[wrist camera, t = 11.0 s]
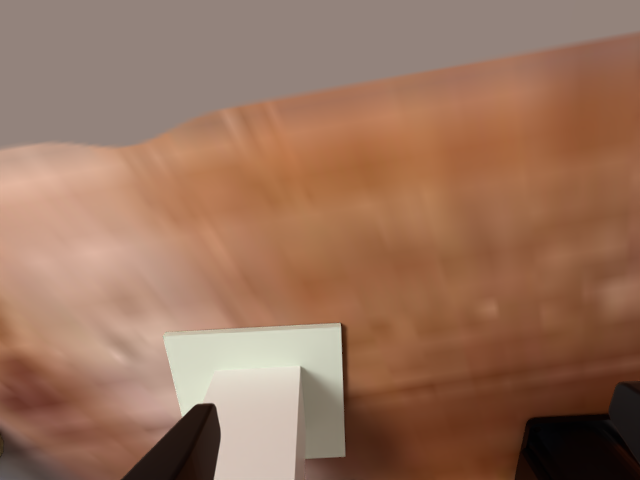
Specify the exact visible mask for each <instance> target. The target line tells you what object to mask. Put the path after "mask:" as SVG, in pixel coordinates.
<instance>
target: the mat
mask: <svg viewBox="0 0 640 480" xmlns="http://www.w3.org/2000/svg"><path fill="white" fill-rule="evenodd" d="M163 339H164V343H165V348H166V352H167V356H168V360H169V364H170V368H171V372H172V377H173V381H174V385H175V389H176V393H177V397H178V402H179V406H180V410H181V414H182V417H183V416H184V415H185V414H186V413H187V412H188V411H189V410H190V409H191V408H192V407H193V406H194V405H196V404H200V403H203V400H204V398H205V395H206V393H207V390H208V387H209V385H210V382H211V380H212V377H213V374H214V372H215V370H233V369H251V368H269V367H287V366H300V368H301V379H302V390H303V401H304V413H305V424H306V453H305V459H311V458H330V457H345V430H344V401H343V372H342V342H341V323H329V324H311V325H292V326H273V327H254V328H235V329H216V330H197V331H178V332H165V334H164V335H163Z"/></svg>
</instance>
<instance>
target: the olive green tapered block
mask: <svg viewBox="0 0 640 480" xmlns="http://www.w3.org/2000/svg"><path fill="white" fill-rule="evenodd" d="M2 453H3V440H2V437H1V435H0V457H1V455H2Z"/></svg>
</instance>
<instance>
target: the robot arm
mask: <svg viewBox="0 0 640 480" xmlns="http://www.w3.org/2000/svg"><path fill="white" fill-rule="evenodd" d="M220 441H221V429H220V424H219V419H218V413H217V408H216V406H215V404H214V403H200V404H196V405H194V406H193V407H192V408H191V409H190V410H189V411H188V412H187V413H186V414H185V415H184V416H183V417H182V418H181V419H180V420H179V421H178V422H177V423H176V424H175V425H174V426H173V427H172V428H171V429H170V430H169V431H168V432H167V433H166V434H165V436H164V437H163V438H162V439H161V440H160V441H159V442H158V443H157V444H156V445H155V446H154V447H153V448H152V449H151V450H150V451H149V452H148V453H147V454H146V455H145V456H144V457H143V458H142V459H141V460H140V461H139V462H138V463H137V464H136V465H135V466H134V467H133V468H132V469H131V470H130V471H129V472H128V473H127V474H126V475H125V476H124V477H123V478H122V479H121V480H214V476H215V470H216V464H217V459H218V453H219V447H220ZM515 480H640V381H626V382H619V383H618V384H617V385H616V387H615V390H614V393H613V396H612V400H611V403H610V406H609V414H606V415H587V416H568V417H549V418H534V419H531V420H529V421H528V422H527V423H526V427H525V432H524V437H523V442H522V447H521V451H520V455H519V460H518V465H517V470H516V475H515Z"/></svg>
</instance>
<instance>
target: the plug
mask: <svg viewBox="0 0 640 480" xmlns="http://www.w3.org/2000/svg"><path fill="white" fill-rule="evenodd" d="M203 403H214V404H215V406H216V408H217V413H218V419H219V424H220V429H221V441H220V447H219V453H218V459H217V464H216V470H215V476H214V480H305V453H306V424H305V413H304V401H303V390H302V379H301V368H300V366H287V367H269V368H251V369H233V370H215V372H214V374H213V377H212V380H211V382H210V385H209V387H208V390H207V393H206V395H205V398H204V400H203Z"/></svg>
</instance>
